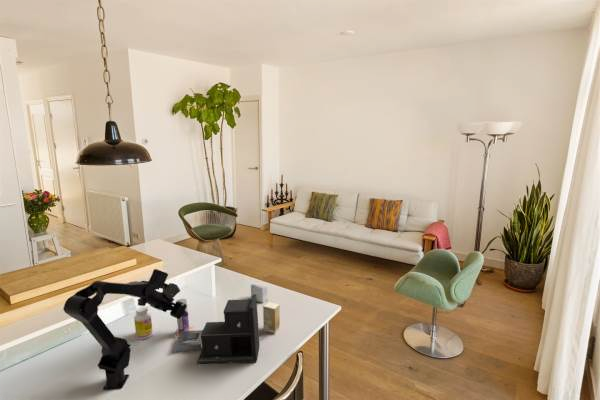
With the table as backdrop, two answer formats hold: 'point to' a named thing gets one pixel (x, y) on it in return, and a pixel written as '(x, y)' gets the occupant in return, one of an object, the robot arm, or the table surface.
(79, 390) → the table surface
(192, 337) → the steel collar
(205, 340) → the black drawer cabinet
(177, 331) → the mat
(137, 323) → the supplement bottle
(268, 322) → the skincare box
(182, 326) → the container
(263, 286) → the medicine box
